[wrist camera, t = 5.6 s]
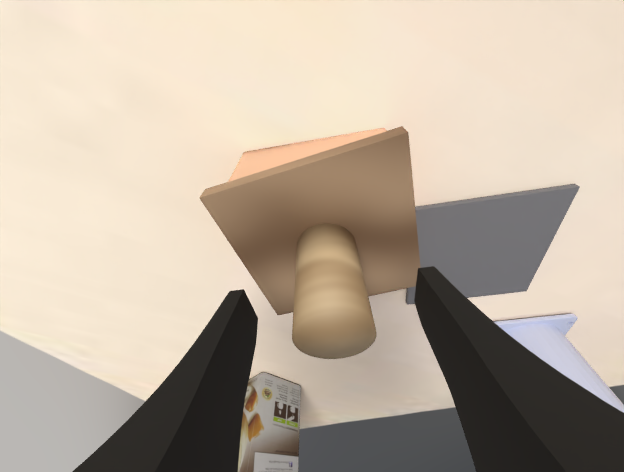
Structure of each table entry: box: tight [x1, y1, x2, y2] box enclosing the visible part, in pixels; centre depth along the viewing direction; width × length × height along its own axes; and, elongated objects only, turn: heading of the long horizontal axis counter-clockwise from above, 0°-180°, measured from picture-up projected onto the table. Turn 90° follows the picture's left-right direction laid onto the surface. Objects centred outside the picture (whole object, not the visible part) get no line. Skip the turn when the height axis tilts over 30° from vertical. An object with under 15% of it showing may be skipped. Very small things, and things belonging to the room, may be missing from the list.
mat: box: [406, 184, 579, 304], centre depth 20 cm, size 10×10×1 cm
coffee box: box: [238, 372, 301, 472], centre depth 28 cm, size 9×6×16 cm
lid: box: [200, 127, 421, 359], centre depth 12 cm, size 9×9×6 cm
